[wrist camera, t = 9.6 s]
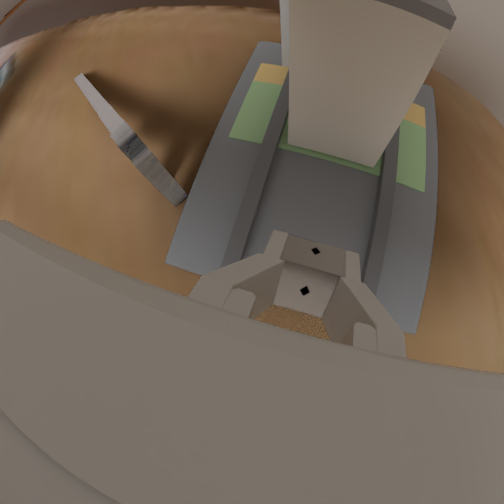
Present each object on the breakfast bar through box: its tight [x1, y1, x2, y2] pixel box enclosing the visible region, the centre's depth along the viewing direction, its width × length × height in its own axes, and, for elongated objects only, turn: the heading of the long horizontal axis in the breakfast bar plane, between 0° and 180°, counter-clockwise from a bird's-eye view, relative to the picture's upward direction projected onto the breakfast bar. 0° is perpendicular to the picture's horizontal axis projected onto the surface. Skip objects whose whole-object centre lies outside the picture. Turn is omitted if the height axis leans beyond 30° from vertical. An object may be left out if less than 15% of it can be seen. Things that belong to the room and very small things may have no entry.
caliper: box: [74, 73, 188, 207], centre depth 16 cm, size 20×1×6 cm, turn 42°
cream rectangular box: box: [288, 0, 456, 168], centre depth 10 cm, size 5×5×11 cm
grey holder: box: [165, 0, 438, 334], centre depth 12 cm, size 14×18×9 cm
